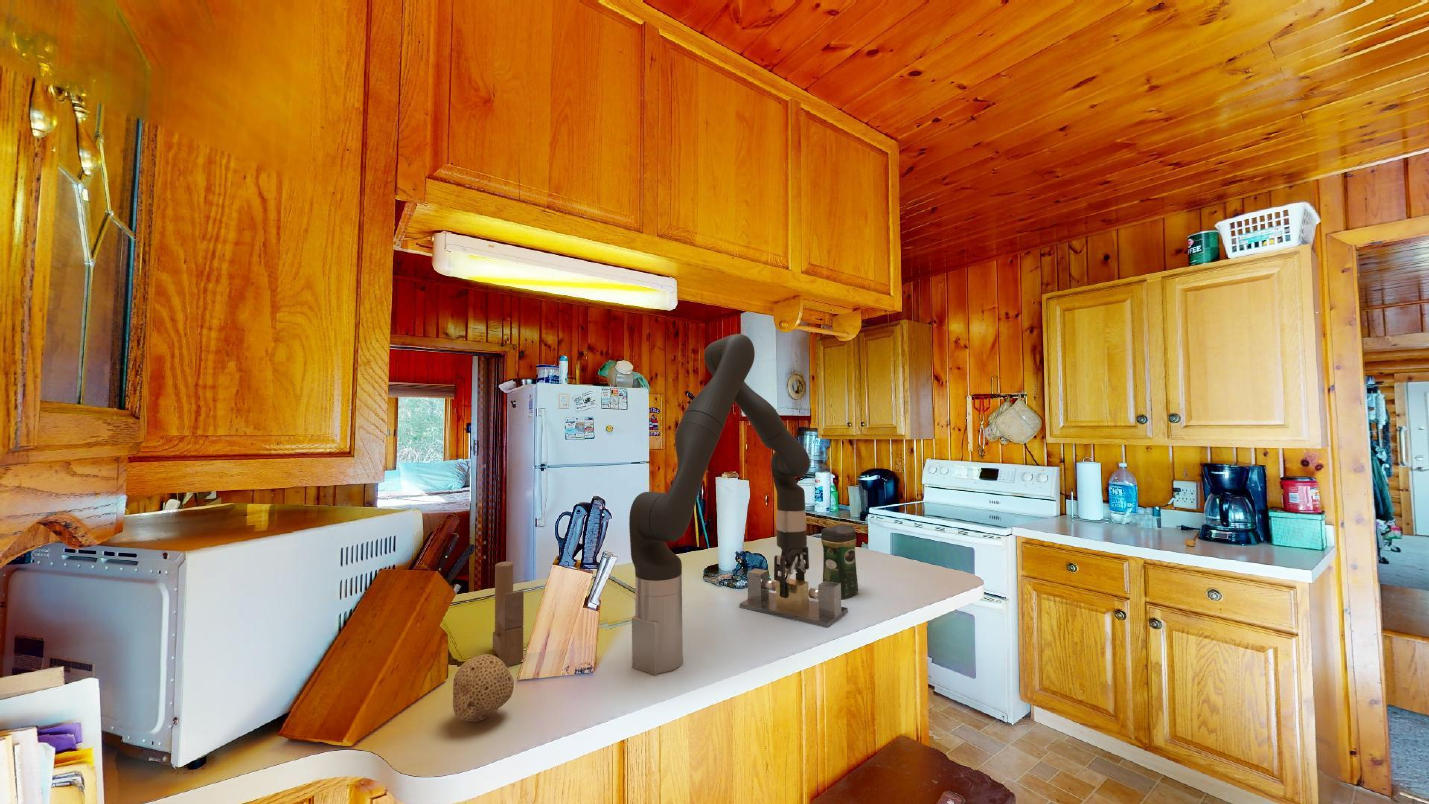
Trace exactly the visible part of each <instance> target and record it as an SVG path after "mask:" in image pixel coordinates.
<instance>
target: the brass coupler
mask: <svg viewBox="0 0 1429 804" xmlns="http://www.w3.org/2000/svg"><path fill="white" fill-rule="evenodd" d="M788 582H789V597H788V598H782V597H780V583H779V581H776V591H775V593H776V605H777V606H781V607H786V608H791V609H796V610H800V611H802V610H804V609H805V608H807V607H808V606H809V600H810V598H809V589H810V588H809V581H808V580H805V581H801V580H796V578H789V581H788Z"/></svg>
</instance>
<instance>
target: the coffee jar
mask: <svg viewBox="0 0 1429 804" xmlns="http://www.w3.org/2000/svg"><path fill="white" fill-rule="evenodd" d="M856 533H857V532H856V529H855V528H854V526H852V525H848V524H843V523H842V524H841V523H840V524H836V525H832V526H828V527H824V528H823V529H821V535H820V536H821V537H820V542H821V545H822V549H823V550H822V551H823V552H822V553H823V557H822V559H823V561H822V563H823V565H822V566H823V567H822V568H823V569H822V582H824V581H831V582H836V583H841V599H846V598H850V597H852V596H854V595H856V594H857V593H858V592H859V582H858V581H859V580H858V573H857V562H856V546H857V545H856V543H857V534H856Z"/></svg>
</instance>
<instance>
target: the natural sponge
mask: <svg viewBox="0 0 1429 804" xmlns="http://www.w3.org/2000/svg"><path fill="white" fill-rule="evenodd" d="M508 668H509V667H506V665H505V664H504V662H503V661H502V660H500V658H499V657H498V656H495V655H492V654H488V653H484V654H479V655H476V656H473V657H471V658H469V659H468V660H466V661H465V662H463V663H462V664H461V665H460V666H459V668H458V669H457V671H456V672H455V674H454V677H453V684H452V685H453V686H452V696H453V697H452V707H453V712H454V716H455V717H456V718H457V719H459V720H461V721H464V722H465V721H467V722H468V721H469V722H471V723H476V722H482V721H483V720H486V719H487V718H488V717H489V716H490V715H491V714H492V713H493V712H495V711H497V710H499V709H500V708H501V707H503V706H505V704H506V703H507V702H508V701H509V700H510V699H511V697H512V695H513V692H514V686H515V680H514V677H513V675H512V674H511V672H510V670H509V669H508Z"/></svg>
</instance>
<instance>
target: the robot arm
mask: <svg viewBox="0 0 1429 804" xmlns="http://www.w3.org/2000/svg"><path fill="white" fill-rule="evenodd" d="M755 353H756V352H755V346H754V343H753V342H752V340H751V339H750V337H749V336H747V335H745V334H743V333H736V334H735V333H734V334H731V335H727V336H725V337H723V338H720V339H718V340H716V341H713V342H711V343H710V344H708V345H707V346H706V348H705V350H704V355H703V358H704V363H705V364H704V365H705V366H706V368H707V370H708V371H709V373H710V374H711V376H712V377H711V379H710V380H709V381H708V382H707V384H706V385H705V386H703V388H702V389H701V390H700V392H698V393H697V395H696V396H695V397H694V398H693V399H692V400H691V402H689V405H687V407H686V409H685V410H684V412H683V414H682V417H681V418H680V422H679V424H678V426H677V428H676V430H675V433H674V434H675V435H674V445H675V446H674V447H675V452H676V453H675V454H676V457H677V458H676V459H677V468H676V473H675V475H674V478H673V480H672V483H671V485H670V487H669V489H668V491H667V492H660V491H659V492H658V491H643V492H642V493H639V494H638V495H637V496H635V498H634V500H633V502H632V503H631V506H630V510H629V511H630V512H629V519H628V521H629V524H628V526H629V528H628V529H629V543H630V545H629V546H630V547H629V548H630V558H631V561H632V564H633V566H634V575H635V577H634V578H635V579H634V580H635V583H634V584H635V587H634V591H635V594H634V596H635V599H634V600H635V601H634V603H635V604H634V605H635V614H634V616H632V617H631V667H632V668H634V669H637V670H639V671H643V672H646V673H647V674H648V673H649V674H651V675H654V676H657V675H658V674H661V673H667V672H671V671H674V670H676V669H677V668H679V667H681V665H682V664H683V661H684V651H683V649H684V646H683V645H684V643H683V642H684V640H683V569H682V568H683V563H682V559H681V558H680V557H679V556H678V555H677V554H675V553H674V552H673V551H672V550H671V549H670V548H669V546H668V545H667V543H668V542H669V543H671V542H677V541H678V540H680V539H681V538H682V537H683V536H684V535H685V533H686V532H687V529H688V528H689V525H690V523H691V519H692V516H693V513H694V512H695V510H694V509H695V507H696V503H697V499H698V497H699V492H700V490H701V486H702V483H703V480H704V477H705V475H706V472H707V469H708V466H709V463H710V460H711V459H712V456H713V453H714V451H715V449H716V447H717V445H718V443H719V440H720V437H721V435H722V432H723V430H724V428H725V424H726V421H727V419H728V416H729V414H730V412H731V409H732V407H733V405H734V403H735V404H736V406H738V408H739V409H740V410H741V411H742V412H743V414H744V416H745V417H746V418H747V420H748V421H749V423H750V424H751V426H752V428H753V429H754V431H755V433H756V434H757V436H758V438H759V440H760V441H761V443H762V445H764V447H766V448H768V449H770V450H773V451H774V452H773V454H772V456H771V460H770V470H771V471H770V472H771V475H772V480H773V483H774V487H775V490H776V519H775V520H776V521H775V522H776V546H777V547H778V548H780V549H781V553H780V555H774V556H773V560H774V561H773V562H774V563H773V581H779V583H780V597H782V598H788V597H789V582H788V581H789V578H790V577H791V575H793V574H794V571H795V579H796V580H801V581H806V579H805V577H806V576H805V575H806V573H807V570H809V568H810V558H809V557H810V556H809V554H810V553H809V546H807V545H808V544H807V543H808V537H807V536H808V535H807V534H808V533H807V531H808V530H807V515H806V494H805V490H804V488H803V487H802V486H801V485H799V484H798V483H797V480H796V478H797V477H798V478H799V477H800V478H801V477H803V476H805V475H806V474H808V472H809V470H810V467H811V460H810V456H809V453H808V452H807V450H806V449H805V448H804V446H803V445H802V444H801V442H799V441H798V439H797V438H796V437H795V436H794V435H793V434H792V433H791V432H790V431H789V430H788V428H787V426H786V425H785V423H784V422H783V419H782V418H781V417H780V414H779V413H778V411H777V410H776V408H775V407H774V406H773V405H772V404H771V403H770V402H769V401H768V400H766V398H764V397H762V396H761V395H760V394H758V393H757V392H756V391H754V390H753V388H751V387H750V386H749V385H748V384H747V383H746V382H745V381H746V379H747V376H748V374H749V373H750V371H751V370H752V367H753V365H754V361H755V355H756V354H755ZM666 542H667V543H666ZM790 579H791V578H790Z"/></svg>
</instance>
